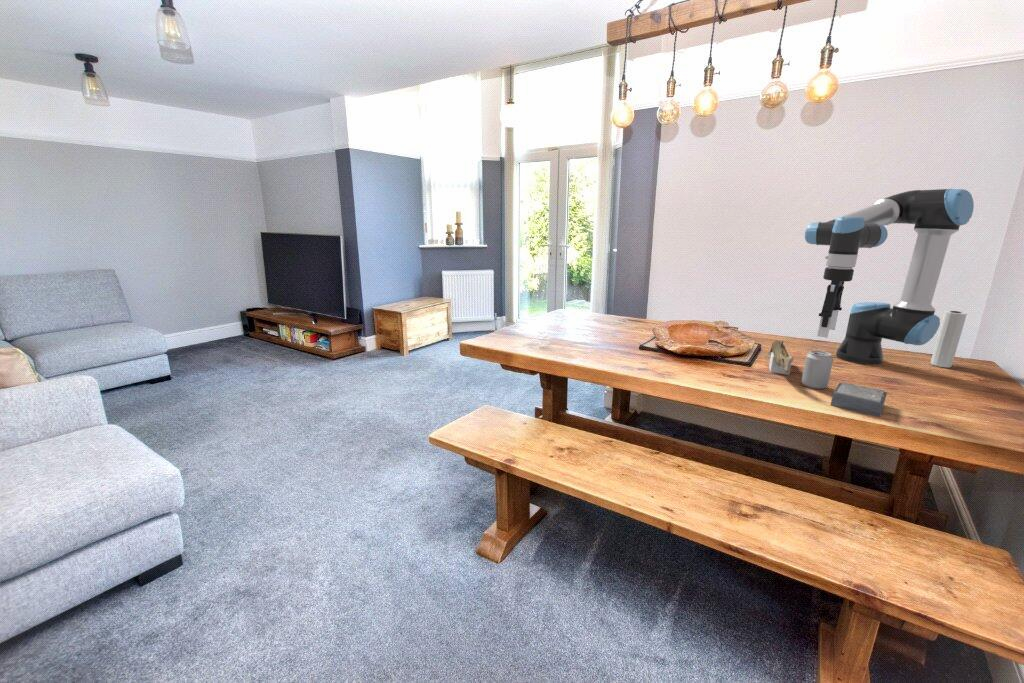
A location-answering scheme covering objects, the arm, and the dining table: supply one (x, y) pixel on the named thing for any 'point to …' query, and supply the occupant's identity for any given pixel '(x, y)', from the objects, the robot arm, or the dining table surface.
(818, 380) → the can
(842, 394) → the plinth
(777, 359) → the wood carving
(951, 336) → the paper towel roll
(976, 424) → the dining table surface
